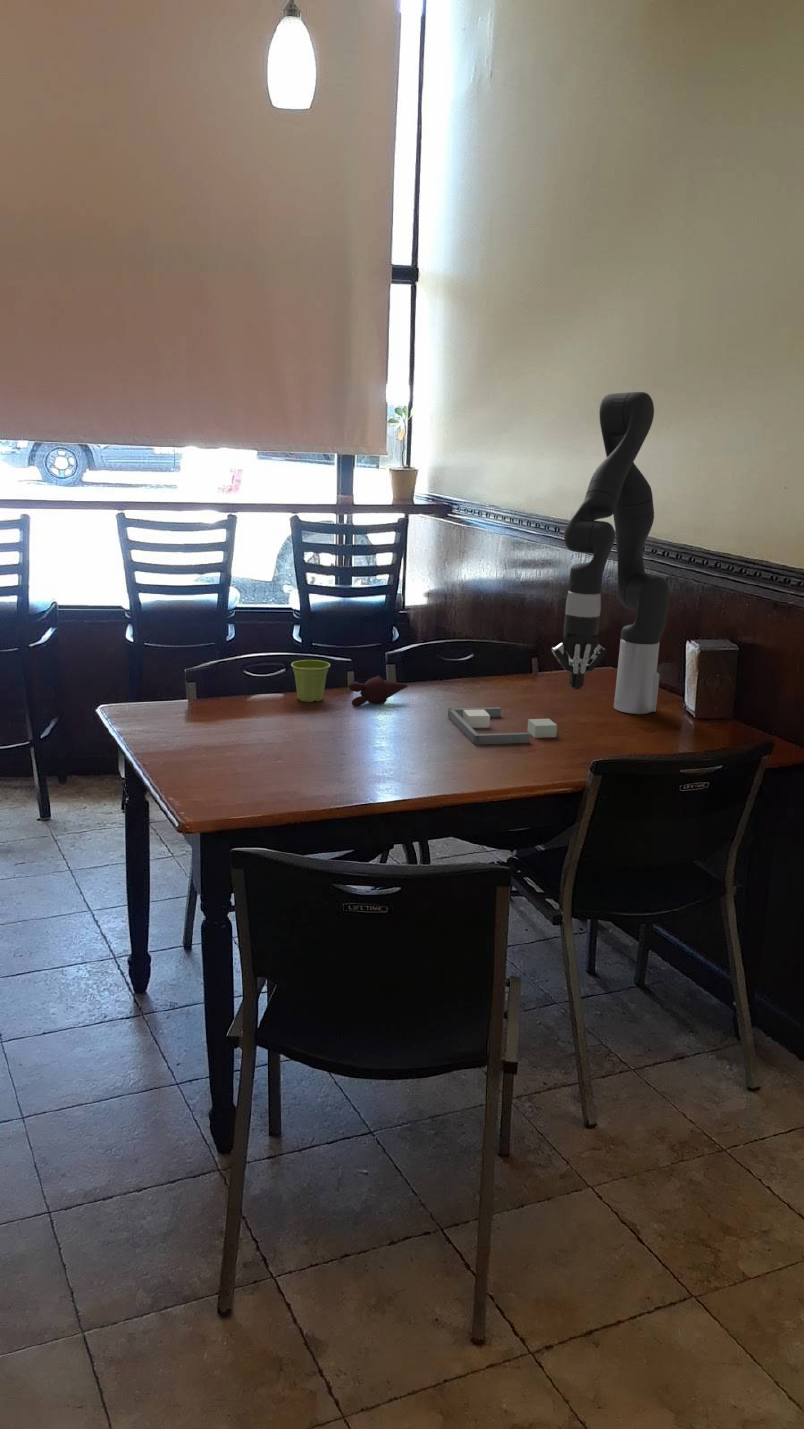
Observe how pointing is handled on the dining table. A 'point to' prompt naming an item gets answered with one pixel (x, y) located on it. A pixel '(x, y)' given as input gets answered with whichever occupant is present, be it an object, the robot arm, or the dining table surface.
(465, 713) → the tile cream
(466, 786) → the dining table surface
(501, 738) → the grey u-shaped frame
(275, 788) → the dining table surface
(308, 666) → the plant pot
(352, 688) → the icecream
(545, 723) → the tile sage
